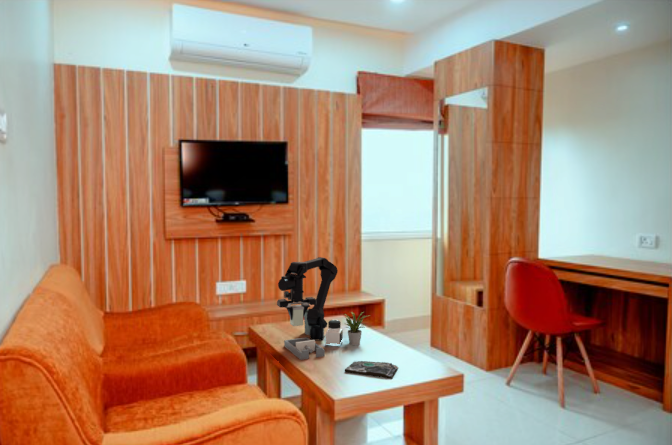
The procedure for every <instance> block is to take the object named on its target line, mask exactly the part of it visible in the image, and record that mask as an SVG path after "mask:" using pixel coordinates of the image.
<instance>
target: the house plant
mask: <svg viewBox="0 0 672 445" xmlns="http://www.w3.org/2000/svg"><path fill="white" fill-rule="evenodd" d="M349 313H351V315H352V317H353V318H352V319H351V318H350V316H349V315H348V314H346V313H344V315H345V320H346V323H345V327H344V329H345V328H348V330H347V336H348V342H349V345H352V346H353V345H354V346H357V345H360V343H361V339H362V330H361V329H360V328H366V327H365V326H366V324H362V322H363V321H364V319H365V318H367V317H370V316H371V315H363V314H364V311H363V312H362V311H361V312H360V314H358V316H357V318H356V314H355V312H353V311H349ZM361 316H362V317H361Z"/></svg>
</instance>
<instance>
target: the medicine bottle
mask: <svg viewBox="0 0 672 445" xmlns="http://www.w3.org/2000/svg"><path fill="white" fill-rule="evenodd" d="M327 327H328V329H327V330H326V332H325V345H326V344H330V343H337V344H340V342H341V340H342V339H343V333H344V332H343V328H341V320H338V319H331V320H329V321H328V322H327Z"/></svg>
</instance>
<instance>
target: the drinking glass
mask: <svg viewBox="0 0 672 445" xmlns="http://www.w3.org/2000/svg"><path fill="white" fill-rule="evenodd" d="M308 310H309V308H308V309H307V311H306V313H305V315H304V317H303V323H304V334H305V335H307V336H310V329H311V327H312V326H309V325H308V322H307V314H308Z"/></svg>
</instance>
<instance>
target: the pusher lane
mask: <svg viewBox="0 0 672 445" xmlns="http://www.w3.org/2000/svg"><path fill="white" fill-rule="evenodd" d="M308 340H310V337H306V336H305V337H300V338H293V339H292V338H291V339H285V340H284V345H283V346H284V347H285V348H286V349H287V350H288V351H289V352H291V353H292V354H293V355H294V356H295V357H297V358H298V359H299V360H308V359H309V357H310V352H309V350H308V349H307V350H302V352H301V351H300V350H298V349H297V348H296V342H301V341H308ZM325 351H326V350H325V349H324V347H321V346H320V345H319V344H317V343H316V342H315V351H314V352H315V358H321V357H325V354H326V353H325Z"/></svg>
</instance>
